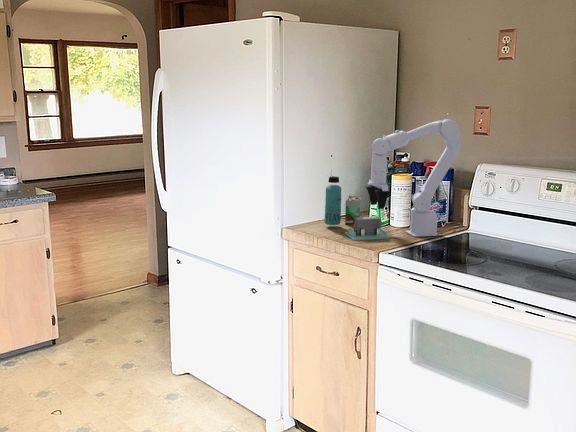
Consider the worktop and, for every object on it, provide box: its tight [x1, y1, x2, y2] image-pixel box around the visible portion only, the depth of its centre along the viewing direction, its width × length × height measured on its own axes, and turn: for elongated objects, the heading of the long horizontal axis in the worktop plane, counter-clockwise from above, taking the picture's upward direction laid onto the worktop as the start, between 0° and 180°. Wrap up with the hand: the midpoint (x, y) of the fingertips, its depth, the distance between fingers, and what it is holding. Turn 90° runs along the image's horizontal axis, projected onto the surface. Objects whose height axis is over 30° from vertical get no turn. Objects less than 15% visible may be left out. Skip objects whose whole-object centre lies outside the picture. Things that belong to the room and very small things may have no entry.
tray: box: [344, 227, 391, 241], centre depth 227 cm, size 14×10×3 cm
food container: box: [344, 195, 363, 226], centre depth 248 cm, size 12×6×10 cm, turn 168°
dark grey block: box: [353, 216, 382, 236], centre depth 226 cm, size 9×4×6 cm, turn 104°
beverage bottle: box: [323, 175, 342, 226], centre depth 238 cm, size 6×7×20 cm
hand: (377, 206), depth 231 cm, fingers open, 7 cm apart
